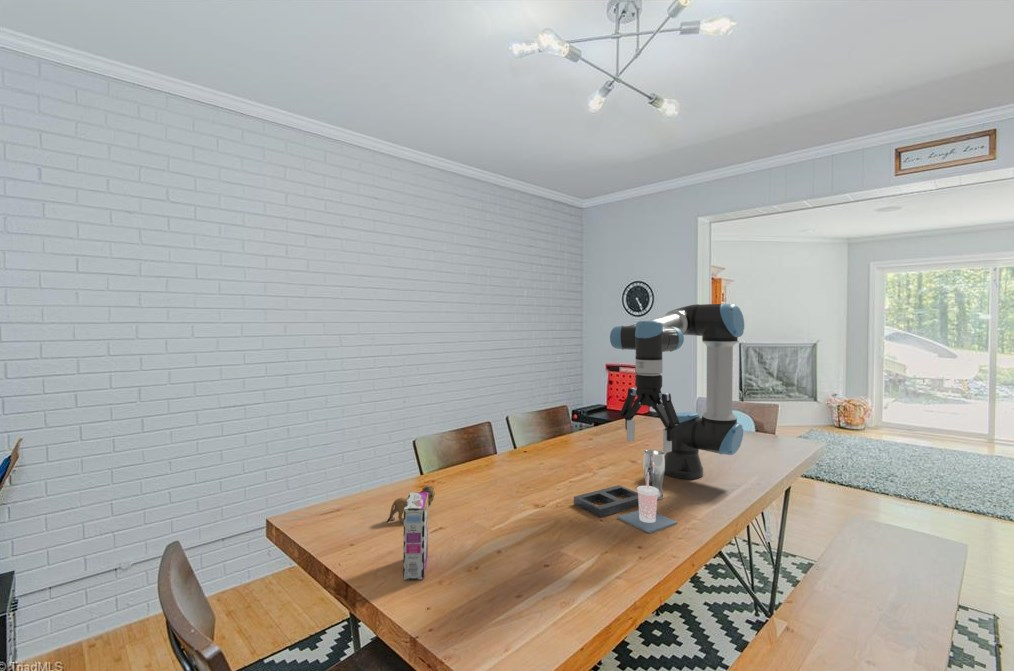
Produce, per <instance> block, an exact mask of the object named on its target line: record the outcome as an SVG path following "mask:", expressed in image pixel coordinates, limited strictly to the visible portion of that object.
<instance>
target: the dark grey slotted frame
mask: <svg viewBox="0 0 1014 671" xmlns="http://www.w3.org/2000/svg"><path fill="white" fill-rule="evenodd" d="M620 496H622V497H624V498H619V497H620ZM596 502H600V503H603V504H601V505H596V504H594V503H596ZM573 505H575V506H576V507H578V508H580V509H582V510H583V511H586V512H588V513H590V514H592V515H594V516H596V517H598V518H604V517H606V516H607V517H608V516H611V515H614V514H617V513H620V512H624V511H626V510H630V509H634V508H637V507H638V508H639V501H638V492H637V491H634V490H633V489H630V488H627V487H625V486H622V485H619V484H618V485H615V486H610V487H606V488H602V489H599V490H598V489H597V490H595V491H591V492H587V493H583V494H579V495H575V496H573Z"/></svg>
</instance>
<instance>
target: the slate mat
mask: <svg viewBox="0 0 1014 671" xmlns="http://www.w3.org/2000/svg"><path fill="white" fill-rule="evenodd" d="M616 519H618V520H620V521H622V522H624V523H626V524H628V525H630V526H632V527H635V528H637V529H638V530H640V531H643V532H645V533H647V534H648V535H649V534H652V533H654V532H657V531H661V530H663V529H666V528H669V527H673V526H675V525H677V524H678V521H675V520H673V519H672V518H669V517H666V516H664V515H662V514H659V513H658V512H656V521H655V522H653V523H647V522H643V521H641V520H640V519H639V509H637V510H634V511H631V512H628V513H624V514H621V515H619V516H617V517H616Z"/></svg>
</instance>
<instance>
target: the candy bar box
mask: <svg viewBox="0 0 1014 671" xmlns="http://www.w3.org/2000/svg"><path fill="white" fill-rule="evenodd" d="M407 498H408V499H407V501H406V504H405V507H404V512H403V520H404V523H403V561H402V562H403V564H402V565H403V569H402V570H403V571H402V573H403V575H402V576H403V577H402V580H403V581H421V580H425V574H426V569H427V563H428V556H429V555H428V554H429V550H428V549H429V547H428V546H429V507H428V492H421V491H419V492H409V493H408V497H407Z"/></svg>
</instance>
